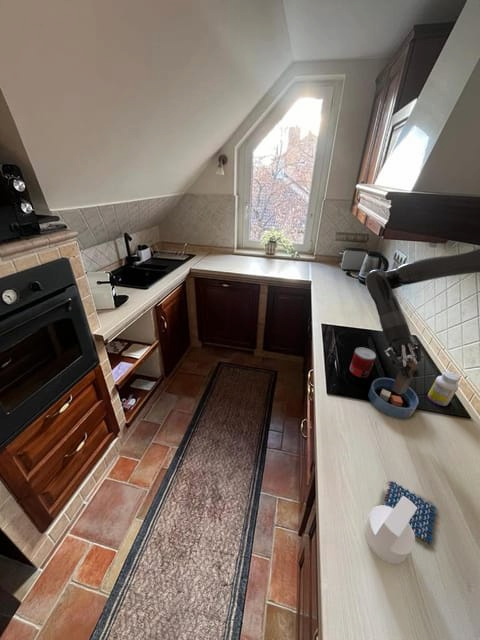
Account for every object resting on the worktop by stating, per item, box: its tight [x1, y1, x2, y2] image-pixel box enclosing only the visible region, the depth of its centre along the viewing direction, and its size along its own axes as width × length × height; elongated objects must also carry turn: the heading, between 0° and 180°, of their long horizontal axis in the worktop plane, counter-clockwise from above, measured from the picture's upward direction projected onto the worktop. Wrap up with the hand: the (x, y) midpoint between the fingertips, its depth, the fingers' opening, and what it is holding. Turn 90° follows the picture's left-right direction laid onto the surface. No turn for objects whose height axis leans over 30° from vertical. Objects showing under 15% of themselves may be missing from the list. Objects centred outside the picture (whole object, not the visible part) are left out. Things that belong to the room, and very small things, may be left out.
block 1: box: [378, 389, 392, 403], centre depth 95 cm, size 3×3×3 cm
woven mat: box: [382, 480, 437, 545], centre depth 63 cm, size 10×11×2 cm
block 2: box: [389, 394, 404, 408], centre depth 93 cm, size 3×3×3 cm
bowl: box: [367, 377, 420, 419], centre depth 93 cm, size 15×15×6 cm
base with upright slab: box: [363, 496, 417, 565], centre depth 56 cm, size 9×9×12 cm
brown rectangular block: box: [392, 360, 419, 396], centre depth 84 cm, size 3×3×12 cm
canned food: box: [349, 346, 377, 379], centre depth 106 cm, size 8×8×11 cm
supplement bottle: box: [427, 370, 460, 407], centre depth 93 cm, size 7×7×13 cm
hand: (411, 377), depth 81 cm, fingers closed on brown rectangular block, 3 cm apart
